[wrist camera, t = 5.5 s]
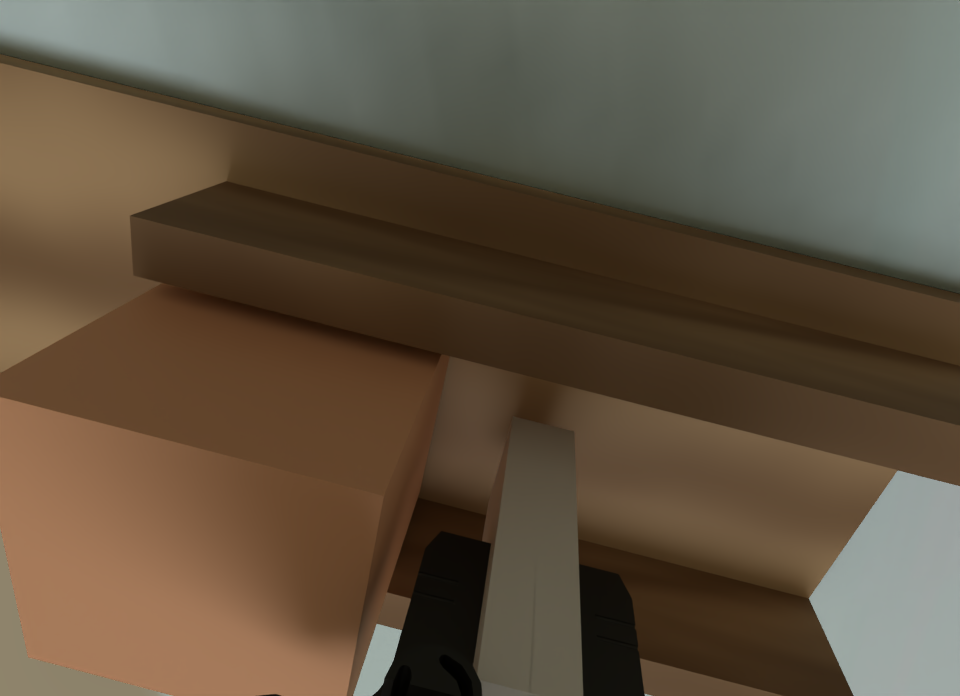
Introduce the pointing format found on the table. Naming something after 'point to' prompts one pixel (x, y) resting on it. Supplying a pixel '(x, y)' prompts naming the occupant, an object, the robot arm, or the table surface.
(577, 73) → the table surface
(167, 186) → the chute
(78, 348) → the block
